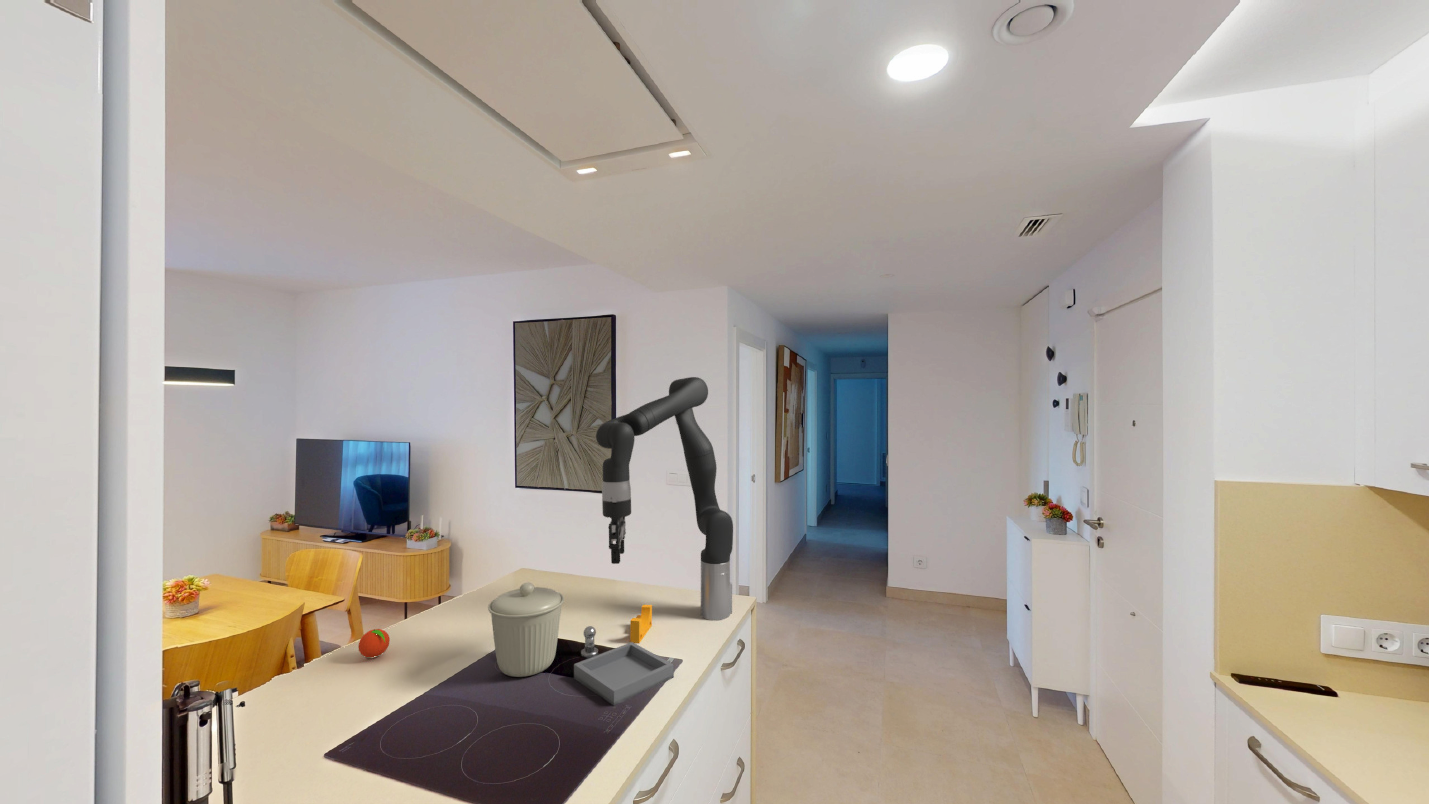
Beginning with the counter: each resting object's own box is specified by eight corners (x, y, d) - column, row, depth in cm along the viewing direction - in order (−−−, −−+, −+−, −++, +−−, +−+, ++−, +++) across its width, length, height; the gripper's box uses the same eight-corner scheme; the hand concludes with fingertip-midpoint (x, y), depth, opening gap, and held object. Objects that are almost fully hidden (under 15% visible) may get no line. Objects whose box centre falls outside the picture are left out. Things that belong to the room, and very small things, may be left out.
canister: (578, 656, 139) (578, 576, 139) (533, 691, 122) (533, 600, 122) (521, 646, 145) (521, 569, 145) (471, 678, 128) (471, 591, 128)
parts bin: (631, 655, 140) (631, 641, 140) (673, 678, 128) (673, 664, 128) (574, 678, 128) (574, 664, 128) (614, 707, 116) (614, 691, 116)
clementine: (398, 654, 140) (398, 627, 140) (371, 666, 134) (371, 637, 134) (378, 648, 144) (379, 622, 144) (352, 659, 137) (352, 632, 137)
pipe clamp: (637, 625, 159) (637, 604, 159) (651, 626, 158) (651, 605, 158) (624, 643, 147) (624, 620, 147) (639, 644, 146) (639, 621, 146)
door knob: (592, 648, 144) (592, 621, 144) (601, 653, 140) (601, 626, 140) (577, 653, 140) (578, 626, 140) (586, 659, 137) (586, 631, 137)
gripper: (606, 493, 148) (608, 551, 148) (597, 503, 133) (599, 567, 134) (633, 492, 148) (635, 550, 148) (627, 502, 134) (629, 566, 134)
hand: (618, 558), depth 141 cm, fingers open, 8 cm apart
